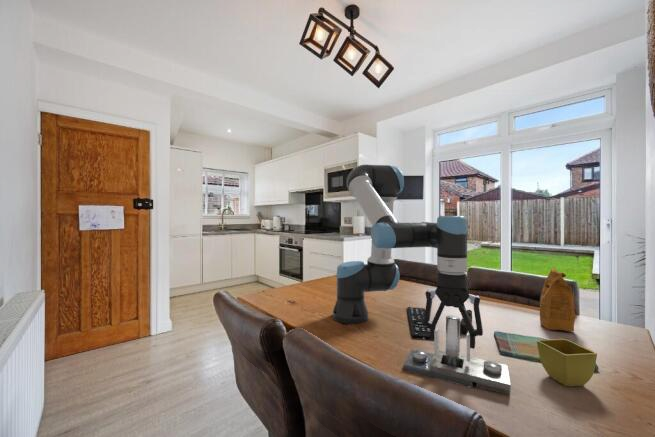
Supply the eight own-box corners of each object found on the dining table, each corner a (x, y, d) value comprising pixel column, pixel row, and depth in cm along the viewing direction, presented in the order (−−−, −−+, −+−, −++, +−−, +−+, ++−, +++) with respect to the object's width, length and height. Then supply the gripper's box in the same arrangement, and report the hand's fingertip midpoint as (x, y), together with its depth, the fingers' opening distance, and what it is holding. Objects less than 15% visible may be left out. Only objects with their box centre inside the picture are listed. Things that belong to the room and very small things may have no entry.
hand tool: (467, 336, 100) (467, 323, 99) (455, 333, 102) (455, 321, 102) (477, 321, 114) (477, 310, 114) (467, 319, 117) (467, 308, 117)
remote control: (412, 340, 97) (412, 334, 97) (407, 310, 129) (407, 306, 129) (435, 342, 96) (435, 336, 96) (424, 311, 127) (424, 307, 127)
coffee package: (568, 323, 111) (567, 268, 111) (578, 335, 100) (577, 274, 100) (537, 319, 115) (536, 266, 115) (543, 330, 104) (543, 271, 104)
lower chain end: (403, 369, 78) (403, 357, 78) (411, 354, 86) (411, 342, 86) (472, 387, 69) (472, 373, 69) (473, 368, 78) (473, 356, 78)
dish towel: (600, 374, 76) (600, 365, 76) (500, 357, 85) (500, 349, 85) (575, 347, 91) (575, 340, 91) (493, 335, 101) (493, 328, 101)
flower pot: (535, 372, 76) (535, 339, 76) (565, 370, 77) (564, 338, 77) (565, 392, 67) (565, 355, 67) (598, 390, 68) (598, 353, 68)
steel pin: (444, 373, 75) (445, 318, 75) (446, 367, 78) (446, 314, 78) (458, 377, 74) (459, 321, 74) (459, 371, 77) (460, 316, 77)
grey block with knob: (429, 376, 74) (429, 359, 74) (435, 359, 83) (435, 344, 83) (510, 397, 65) (510, 378, 65) (507, 376, 74) (507, 359, 74)
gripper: (411, 271, 78) (411, 352, 78) (495, 278, 68) (495, 372, 68) (416, 266, 84) (417, 342, 84) (494, 273, 74) (494, 358, 74)
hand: (452, 355), depth 76 cm, fingers open, 7 cm apart
